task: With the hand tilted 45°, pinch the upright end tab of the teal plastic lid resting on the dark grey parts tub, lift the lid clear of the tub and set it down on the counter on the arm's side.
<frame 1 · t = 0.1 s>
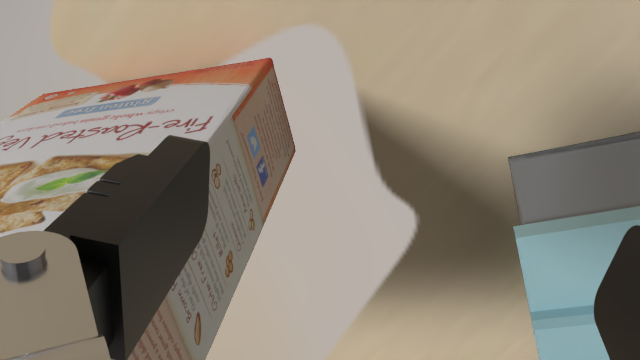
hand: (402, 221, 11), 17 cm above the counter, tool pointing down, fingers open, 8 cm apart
tub: (622, 246, 30), on the counter
cracker box: (168, 116, 31), on the counter
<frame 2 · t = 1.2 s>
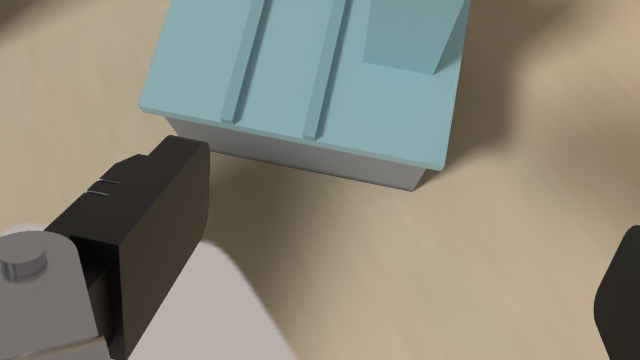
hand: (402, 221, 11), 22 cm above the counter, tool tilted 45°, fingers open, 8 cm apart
tub: (315, 94, 35), on the counter
lid: (313, 42, 29), point 6 cm above the counter, touching tub
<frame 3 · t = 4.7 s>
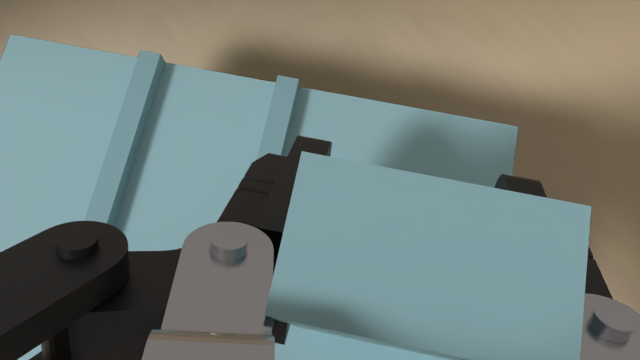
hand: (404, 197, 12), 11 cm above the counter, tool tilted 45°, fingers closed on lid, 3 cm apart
lid: (212, 270, 15), point 7 cm above the counter, touching gripper, tub
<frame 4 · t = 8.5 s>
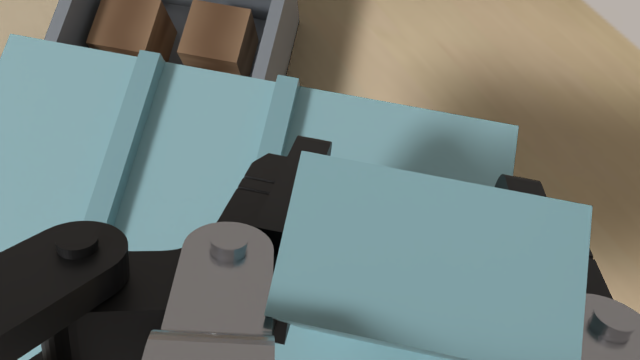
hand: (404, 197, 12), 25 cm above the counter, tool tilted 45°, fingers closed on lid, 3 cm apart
tub: (192, 63, 41), on the counter
walnut block b: (225, 59, 40), point 1 cm above the counter, touching tub
lid: (212, 270, 15), point 21 cm above the counter, touching gripper
walnut block a: (143, 51, 40), point 1 cm above the counter, touching tub
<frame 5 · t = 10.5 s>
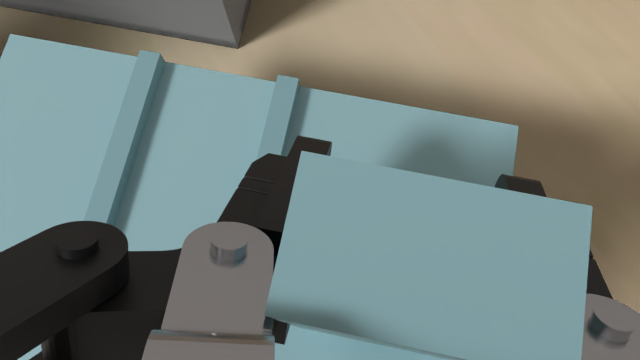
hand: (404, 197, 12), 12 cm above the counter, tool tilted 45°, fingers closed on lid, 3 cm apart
lid: (212, 270, 15), point 8 cm above the counter, touching gripper
when the fingers open (5 cm above the counter, at t = 12.3 s): lid drops 2 cm, on the counter.
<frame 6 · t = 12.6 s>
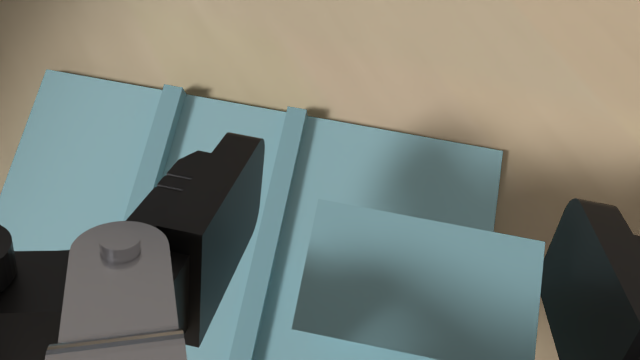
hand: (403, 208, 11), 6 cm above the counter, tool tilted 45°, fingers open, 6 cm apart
lid: (231, 281, 17), on the counter
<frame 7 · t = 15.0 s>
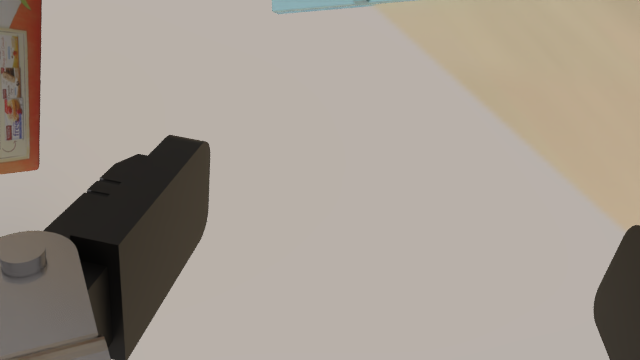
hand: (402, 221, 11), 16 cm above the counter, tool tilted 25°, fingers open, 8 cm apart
cracker box: (7, 50, 33), on the counter
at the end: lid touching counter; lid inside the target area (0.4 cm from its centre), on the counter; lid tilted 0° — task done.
